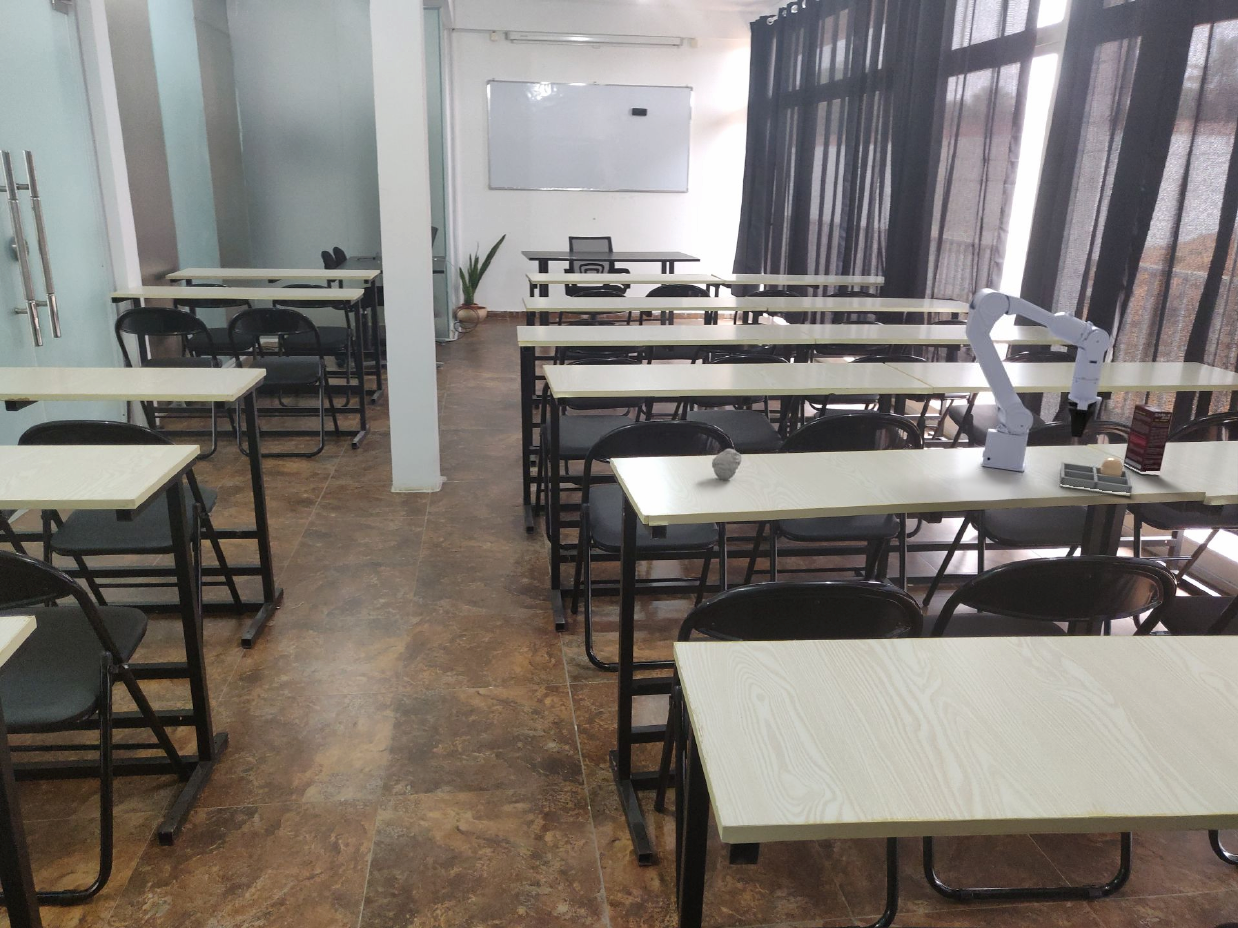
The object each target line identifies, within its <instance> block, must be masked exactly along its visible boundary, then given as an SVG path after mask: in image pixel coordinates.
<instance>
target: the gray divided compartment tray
mask: <svg viewBox="0 0 1238 928" xmlns="http://www.w3.org/2000/svg"><path fill="white" fill-rule="evenodd" d="M1100 471H1101V466H1100V467H1099V466H1094V465H1084V464H1078V463H1077V464H1076V463H1071V462H1062V461H1061V464H1060V469H1059V485H1060V484H1062V485H1069V486H1073V487H1084V488H1090V489H1099V490H1102V491H1112V492H1126V493H1132V489H1133V486H1132V485H1133V484H1132V481H1131V478H1130V474H1129V471H1128V470H1123V469H1122V475H1121V477H1116V476H1109V475H1101V474H1100Z"/></svg>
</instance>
